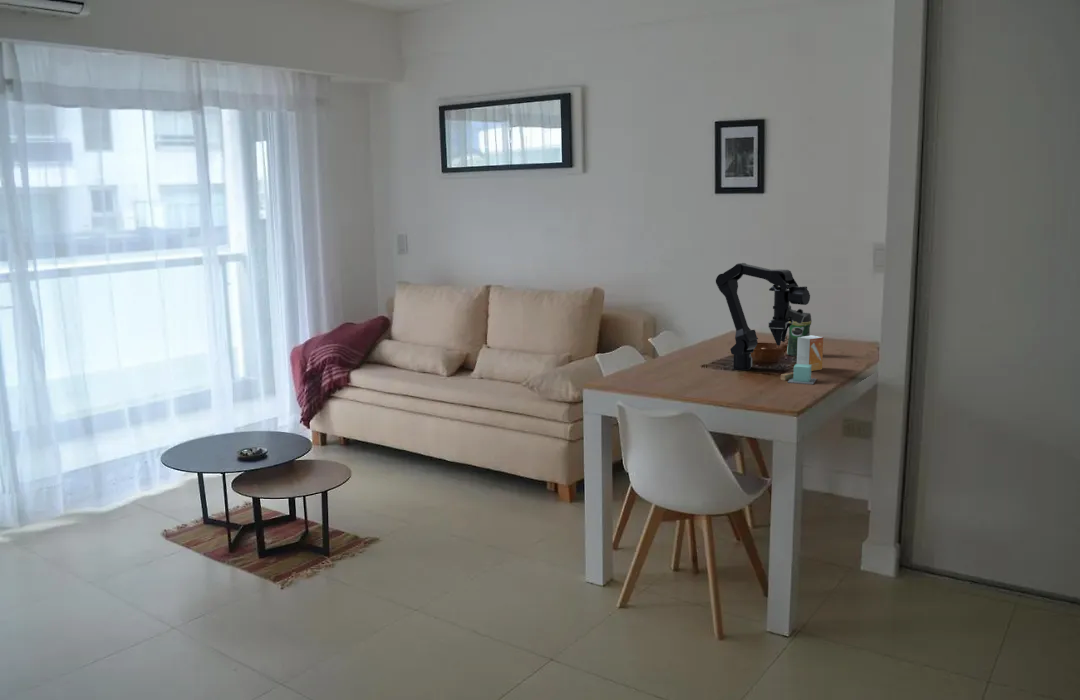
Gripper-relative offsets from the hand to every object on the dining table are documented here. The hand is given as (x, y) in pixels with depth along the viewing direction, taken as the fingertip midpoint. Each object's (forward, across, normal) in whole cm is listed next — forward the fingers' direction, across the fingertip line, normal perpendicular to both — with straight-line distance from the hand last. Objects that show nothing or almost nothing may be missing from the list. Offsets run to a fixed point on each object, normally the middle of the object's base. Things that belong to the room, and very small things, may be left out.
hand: (780, 343), depth 344 cm
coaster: (+12, -10, -10) cm, 19 cm away
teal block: (+12, -10, -10) cm, 19 cm away
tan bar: (+12, -8, -5) cm, 15 cm away
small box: (+12, +13, -9) cm, 20 cm away
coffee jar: (+12, +43, 0) cm, 45 cm away
